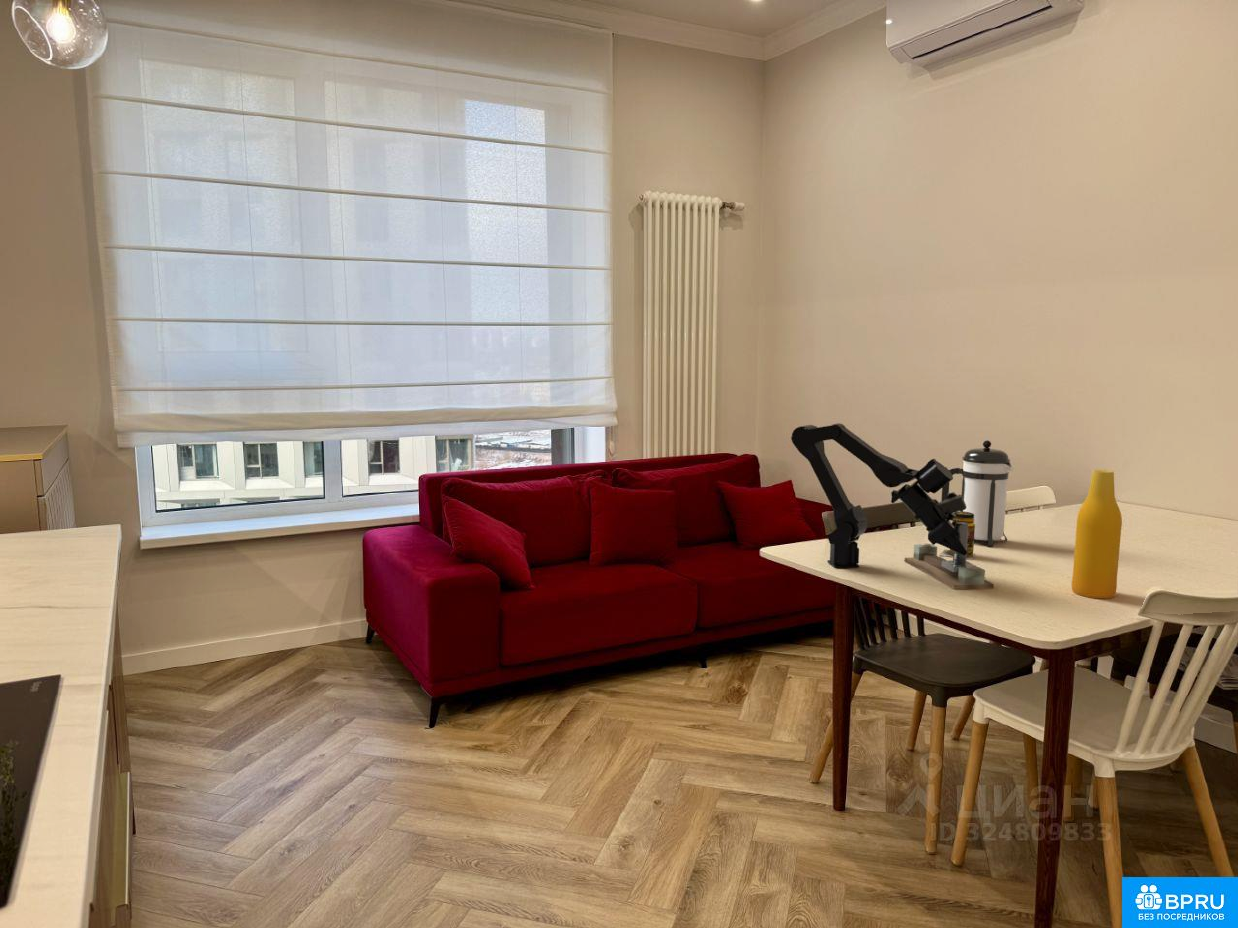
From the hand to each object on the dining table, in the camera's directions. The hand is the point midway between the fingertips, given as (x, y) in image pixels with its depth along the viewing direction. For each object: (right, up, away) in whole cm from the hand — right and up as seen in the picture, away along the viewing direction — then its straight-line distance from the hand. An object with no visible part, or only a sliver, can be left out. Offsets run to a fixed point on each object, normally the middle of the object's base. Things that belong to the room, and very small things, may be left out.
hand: (966, 552), depth 215 cm
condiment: (+9, -4, +28) cm, 29 cm away
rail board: (-2, -6, +7) cm, 10 cm away
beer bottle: (+26, -9, -9) cm, 29 cm away
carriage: (-1, -4, +1) cm, 5 cm away
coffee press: (+21, -1, +45) cm, 50 cm away
